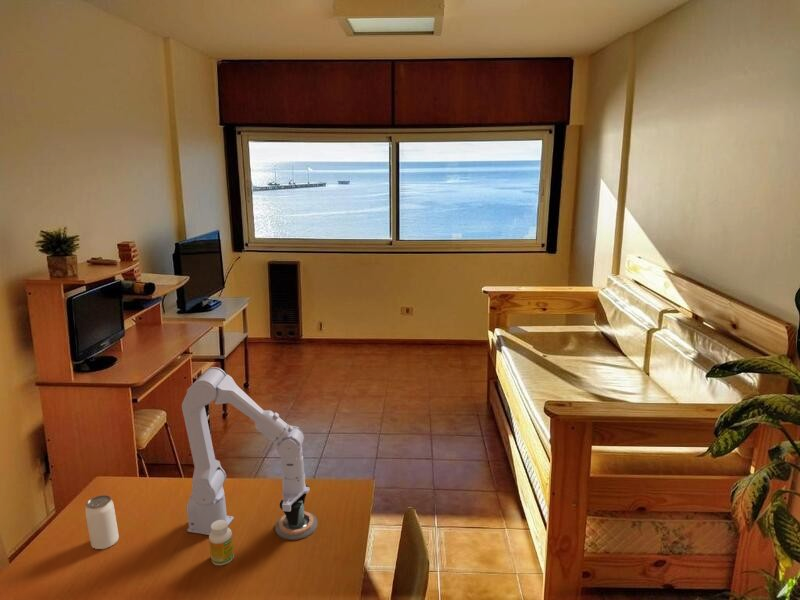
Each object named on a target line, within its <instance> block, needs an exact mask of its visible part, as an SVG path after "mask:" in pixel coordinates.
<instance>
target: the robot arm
mask: <svg viewBox="0 0 800 600" xmlns="http://www.w3.org/2000/svg"><path fill="white" fill-rule="evenodd" d="M185 394H186V395H185V396H184V397H183V401H182V402H181V410H182V415H183V418H184V423H185V429H186V434H187V438H188V442H189V448H190V452H191V456H192V457H191V458H192V460H193V461H192V462H193V466H194V469H193V474H192V475H193V476H192V479H191V483H192V489H191V492H190V493H191V494H190V497H189V498H188V501H187V505H186V515H187V520H188V521H187V522H188V528H187V532H189V533H194V534H202V535H207V536H209V535H210V533H211V524H212V523H213V522H215V521H217V520H225V521H227V522H228V526H229V525H230V524H231V523H232V521H233V520H234V518H235V517H234V516H232V515H227V505H226V497H225V495H226V494H225V490H224V486H223V484H224V483H225V481H226V480H227V474H226V471H225V470H224V469H223V467H222V466H221V461H220V460H217V459H216V456H215V452H214V446H213V442H212V436H211V432H210V426H209V423H208V421H209V420H208V417H207V412H206V407H205V406H207V405H209V404H212V403H213V402H214V400H215V403H214V405H222V404H230V405H231V406H232V407H234V408H236V409H237V410H238V411H240V412H241V413H243V414H244V415H245V416H247V417H248V418H250V419H251V420H252V421H253V422H254V426H255V429H256V430H257V431H259V432H260V433H261V434H262V435H263V436H265V437H266V438H267V439H268V440H269V441H271V442H272V443H273V444H274V445H275V446H277V447H276V451H277V452H278V454H279V455H280V466H281V467H280V468H281V478H282V479H281V481H282V488H281V490H282V493H281V494H282V499H281V500H280V503H279V508H280V509H281V511H282V512H283V513H284V515H286V517H287V520H288V523H289V525H295V526H296V525H297V524H298V518H299V510H300V507H301V505H302V503H300V502H296V501H301V500H302V501H303V504H304V505H305V502H306V498H307V497H306V496H307V494H309V493H310V490H311V489H310V487H309V486H308V485H307V484H306V473H305V464H304V456H303V455H304V454H303V453H304V452H303V446H302V445H303V443H304V439H305V435H304V432H303V430H302V429H301V428H300V427H299V426H295V425H290V424H288V423H287V422H285V420H283V419H282V418H281V417H280V414H279V413H278V412H273V410H270V409H269V410H268V409H267V410H266V409H265V410H264V409H263V407H261V406H259V404H258V403H256V402H255V401H254V400H253V399H252V398H251V397H250V396H249V395H248V394H247V393H246V392H245V391H243V389H241V387H239V386H238V384H237V383H236V382H235V380H234V379H233V377H232V376H231V375H229V374H227V373H226V372H225V370H223V369H222V368H220V367H217V366H211V367H208V368H207V369H206V370H204V372H202V373H201V374H200V375H199V376H198V377H197V379H196V380H195V381H194V382H193V383H192V384H191V385H190V386H189V387H188V388H187V389H186V393H185Z"/></svg>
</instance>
